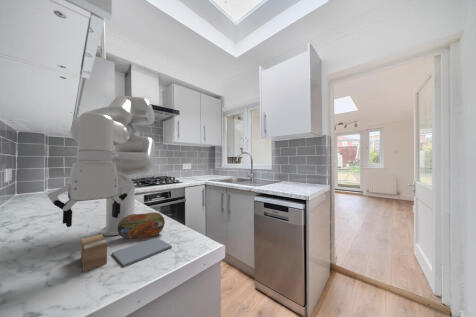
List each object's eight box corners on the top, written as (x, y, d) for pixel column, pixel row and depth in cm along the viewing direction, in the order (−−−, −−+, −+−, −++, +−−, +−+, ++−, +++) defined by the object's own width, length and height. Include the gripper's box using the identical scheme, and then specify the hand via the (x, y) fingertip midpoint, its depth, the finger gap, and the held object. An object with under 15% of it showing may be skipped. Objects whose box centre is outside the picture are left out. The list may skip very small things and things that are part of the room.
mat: (111, 254, 49) (111, 252, 49) (156, 239, 59) (156, 237, 59) (123, 267, 43) (123, 264, 43) (171, 247, 53) (171, 245, 53)
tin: (117, 240, 59) (117, 216, 59) (120, 237, 62) (121, 213, 62) (164, 235, 63) (164, 212, 63) (165, 232, 66) (165, 210, 66)
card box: (80, 258, 48) (81, 237, 48) (101, 252, 51) (101, 233, 51) (83, 272, 41) (84, 248, 42) (106, 264, 45) (107, 242, 45)
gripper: (126, 160, 56) (125, 212, 55) (48, 158, 43) (44, 227, 42) (135, 158, 51) (134, 216, 50) (50, 155, 38) (46, 233, 37)
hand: (93, 221), depth 46 cm, fingers open, 9 cm apart
